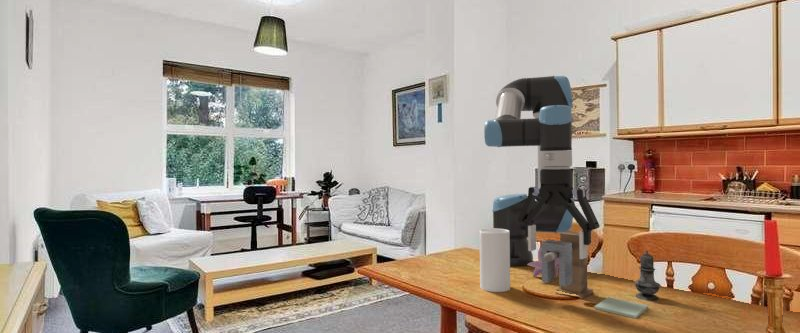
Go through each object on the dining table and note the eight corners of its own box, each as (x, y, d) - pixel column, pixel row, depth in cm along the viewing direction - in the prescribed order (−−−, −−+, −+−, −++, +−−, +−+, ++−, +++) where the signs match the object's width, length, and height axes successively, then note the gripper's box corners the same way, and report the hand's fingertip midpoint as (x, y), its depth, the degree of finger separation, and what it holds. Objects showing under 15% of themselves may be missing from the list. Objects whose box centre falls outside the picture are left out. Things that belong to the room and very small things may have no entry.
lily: (579, 284, 125) (570, 252, 129) (570, 277, 116) (561, 243, 120) (538, 292, 130) (531, 261, 134) (527, 286, 121) (519, 253, 125)
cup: (476, 289, 117) (475, 231, 117) (484, 282, 125) (484, 227, 124) (506, 293, 113) (505, 234, 113) (513, 285, 121) (512, 229, 120)
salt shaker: (651, 302, 105) (651, 254, 105) (629, 296, 110) (628, 249, 110) (665, 298, 108) (665, 251, 107) (643, 292, 113) (642, 247, 113)
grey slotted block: (549, 278, 110) (548, 239, 110) (572, 282, 105) (571, 242, 105) (541, 281, 107) (541, 241, 107) (565, 286, 103) (564, 245, 102)
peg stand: (566, 287, 118) (566, 229, 118) (592, 292, 113) (592, 232, 113) (533, 304, 105) (532, 239, 105) (560, 311, 100) (560, 243, 100)
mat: (608, 299, 108) (608, 297, 108) (648, 308, 101) (648, 305, 101) (594, 308, 101) (594, 306, 101) (635, 318, 95) (635, 315, 95)
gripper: (504, 168, 112) (505, 249, 112) (601, 168, 94) (602, 264, 95) (518, 167, 117) (519, 245, 117) (613, 168, 100) (614, 258, 100)
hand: (556, 254), depth 106 cm, fingers open, 12 cm apart
